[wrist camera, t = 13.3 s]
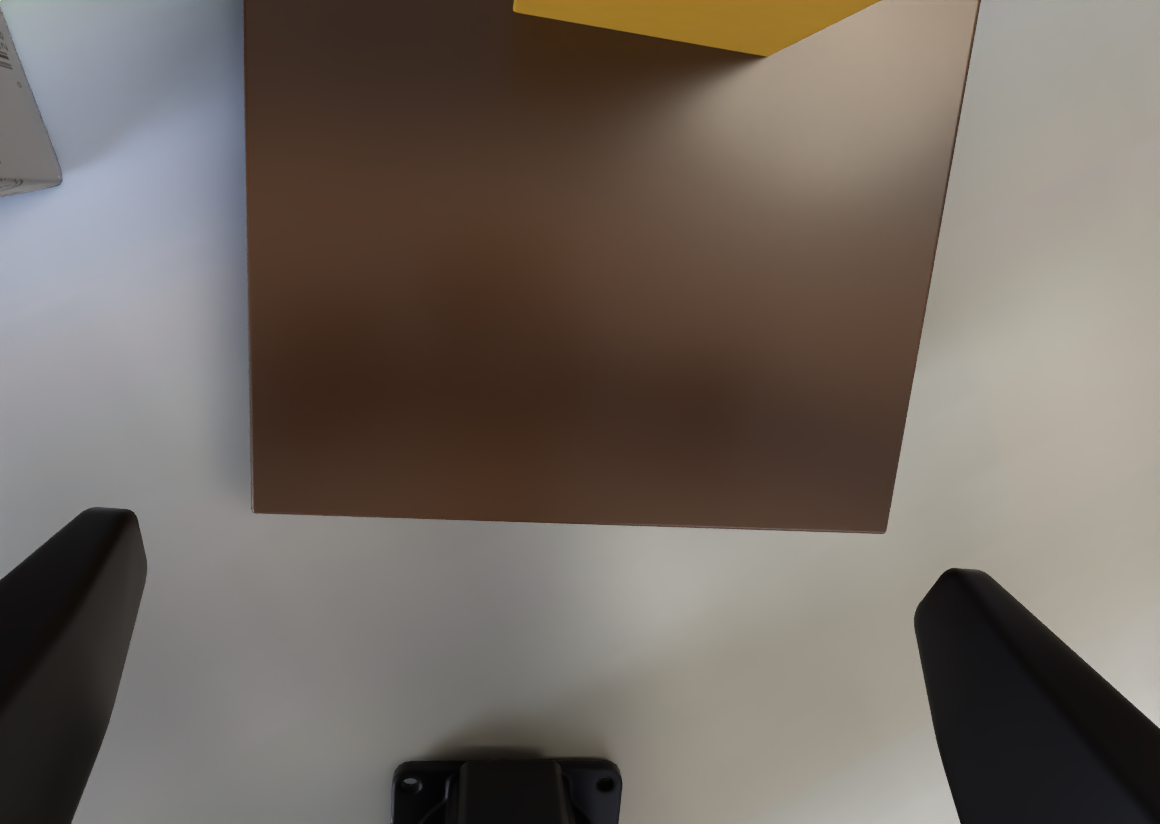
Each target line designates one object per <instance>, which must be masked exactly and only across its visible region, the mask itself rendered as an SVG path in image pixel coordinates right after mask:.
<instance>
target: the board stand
mask: <svg viewBox="0 0 1160 824" xmlns="http://www.w3.org/2000/svg"><path fill="white" fill-rule="evenodd" d="M980 2H981V0H881V1H879V2H877V3H875V4H873V5H871V6H869V7H867V8H865V9H863V10H861V11H859V12H857V13H855V14H853V15H851V16H849V17H847V18H845V19H843V20H841V21H839V22H837V23H835V24H833V25H831V26H829V27H827V28H825V29H823V30H821V31H819V32H817V33H815V34H813V35H811V36H809V37H807V38H805V39H803V40H801V41H799V42H797V43H795V44H793V45H791V46H788V47H786V48H784V49H782V50H780V51H778V52H776V53H774V54H772V55H770V56H768V57H766V56H761V55H755V54H749V53H744V52H738V51H732V50H727V49H721V48H715V47H710V46H704V45H698V44H692V43H687V42H681V41H675V40H670V39H664V38H658V37H653V36H647V35H641V34H636V33H630V32H624V31H619V30H613V29H607V28H602V27H596V26H590V25H585V24H579V23H573V22H568V21H562V20H556V19H551V18H545V17H539V16H534V15H528V14H522V13H516V12H514V11H513V4H514V0H243V47H244V107H245V166H246V225H247V284H248V343H249V403H250V462H251V509H252V512H253V513H262V514H292V515H323V516H353V517H384V518H414V519H445V520H475V521H506V522H536V523H567V524H597V525H628V526H658V527H689V528H719V529H750V530H781V531H811V532H842V533H872V534H884V533H885V532H886V529H887V524H888V518H889V512H890V507H891V501H892V496H893V490H894V484H895V479H896V473H897V468H898V462H899V456H900V451H901V445H902V439H903V434H904V428H905V423H906V417H907V411H908V406H909V400H910V395H911V389H912V383H913V378H914V372H915V367H916V361H917V355H918V350H919V344H920V338H921V333H922V327H923V322H924V316H925V310H926V305H927V299H928V294H929V288H930V282H931V277H932V271H933V266H934V260H935V254H936V249H937V243H938V237H939V232H940V226H941V221H942V215H943V209H944V204H945V198H946V193H947V187H948V181H949V176H950V170H951V165H952V159H953V153H954V148H955V142H956V136H957V131H958V125H959V120H960V114H961V108H962V103H963V97H964V92H965V86H966V80H967V75H968V69H969V64H970V58H971V52H972V47H973V41H974V35H975V30H976V24H977V19H978V13H979V7H980Z"/></svg>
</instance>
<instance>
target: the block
mask: <svg viewBox="0 0 1160 824" xmlns="http://www.w3.org/2000/svg"><path fill="white" fill-rule="evenodd" d="M879 1H881V0H514V4H513V11H514V12H516V13H522V14H528V15H534V16H539V17H545V18H551V19H556V20H562V21H568V22H573V23H579V24H585V25H590V26H596V27H602V28H607V29H613V30H619V31H624V32H630V33H636V34H641V35H647V36H653V37H658V38H664V39H670V40H675V41H681V42H687V43H692V44H698V45H704V46H710V47H715V48H721V49H727V50H732V51H738V52H744V53H749V54H755V55H761V56H766V57H768V56H770V55H772V54H774V53H776V52H778V51H780V50H782V49H784V48H786V47H788V46H791V45H793V44H795V43H797V42H799V41H801V40H803V39H805V38H807V37H809V36H811V35H813V34H815V33H817V32H819V31H821V30H823V29H825V28H827V27H829V26H831V25H833V24H835V23H837V22H839V21H841V20H843V19H845V18H847V17H849V16H851V15H853V14H855V13H857V12H859V11H861V10H863V9H865V8H867V7H869V6H871V5H873V4H875V3H877V2H879Z"/></svg>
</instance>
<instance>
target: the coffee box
mask: <svg viewBox="0 0 1160 824" xmlns="http://www.w3.org/2000/svg"><path fill="white" fill-rule="evenodd" d="M61 182H62V174H61V169H60V166H59V163H58V160H57V157H56V154H55V152H54V149H53V146H52V144H51V141H50V139H49V136H48V133H47V131H46V128H45V126H44V123H43V120H42V118H41V115H40V112H39V110H38V107H37V105H36V102H35V99H34V97H33V94H32V91H31V89H30V86H29V83H28V81H27V78H26V76H25V73H24V70H23V68H22V65H21V63H20V60H19V57H18V55H17V52H16V49H15V47H14V44H13V41H12V39H11V36H10V33H9V30H8V28H7V25H6V22H5V19H4V17H3V14H2V11H1V9H0V197H4V196H9V195H14V194H19V193H24V192H30V191H35V190H40V189H45V188H49V187H53V186H56V185H59V184H60V183H61Z"/></svg>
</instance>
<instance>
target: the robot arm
mask: <svg viewBox="0 0 1160 824" xmlns="http://www.w3.org/2000/svg"><path fill="white" fill-rule="evenodd" d="M146 575H147V559H146V555H145V550H144V546H143V541H142V537H141V532H140V528H139V523H138V519H137V517H136V515H135V514H134V512H132V511H131V510H128V509H117V508H103V507H93V508H89V509H87V510H85V511H83V512H82V513H80V514H79V515H78V516H77V517H75V518H74V519H73V520H72V521H71V522H69V523H68V524H67V525H66V526H65V527H63V528H62V529H61V530H60V531H59V532H57V533H56V534H55V535H54V536H53V537H51V538H50V539H49V540H48V541H47V542H45V543H44V544H43V545H42V546H41V547H39V548H38V549H37V550H36V551H35V552H34V553H32V554H31V555H30V556H29V557H28V558H26V559H25V560H24V561H23V562H22V563H20V564H19V565H18V566H17V567H16V568H14V569H13V570H12V571H11V572H10V573H8V574H7V575H6V576H5V577H4V578H2V579H1V580H0V824H71V822H72V820H73V817H74V814H75V812H76V809H77V807H78V804H79V801H80V799H81V796H82V794H83V791H84V789H85V786H86V783H87V781H88V778H89V776H90V773H91V770H92V768H93V765H94V763H95V760H96V758H97V755H98V752H99V750H100V747H101V744H102V742H103V739H104V736H105V733H106V730H107V727H108V725H109V721H110V717H111V714H112V710H113V707H114V703H115V699H116V695H117V692H118V688H119V684H120V680H121V676H122V672H123V668H124V664H125V660H126V656H127V652H128V649H129V645H130V641H131V637H132V633H133V629H134V625H135V621H136V617H137V613H138V610H139V606H140V602H141V598H142V594H143V590H144V586H145V582H146ZM914 627H915V633H916V638H917V643H918V649H919V654H920V659H921V664H922V669H923V674H924V680H925V685H926V690H927V695H928V700H929V705H930V711H931V716H932V721H933V726H934V731H935V735H936V740H937V744H938V748H939V752H940V756H941V759H942V763H943V766H944V770H945V773H946V777H947V780H948V783H949V787H950V790H951V793H952V796H953V800H954V803H955V806H956V810H957V813H958V816H959V820H960V823H961V824H1160V728H1158V727H1157V726H1156V725H1155V724H1154V723H1153V722H1152V721H1151V720H1150V719H1148V718H1147V717H1146V716H1145V715H1144V714H1143V713H1142V712H1141V711H1140V710H1138V709H1137V708H1136V707H1135V706H1134V705H1133V704H1132V703H1131V702H1130V701H1128V700H1127V699H1126V698H1125V697H1124V696H1123V695H1122V694H1121V693H1120V692H1118V691H1117V690H1116V689H1115V688H1114V687H1113V686H1112V685H1111V684H1110V683H1108V682H1107V681H1106V680H1105V679H1104V678H1103V677H1102V676H1101V675H1100V674H1098V673H1097V672H1096V671H1095V670H1094V669H1093V668H1092V667H1091V666H1090V665H1088V664H1087V663H1086V662H1085V661H1084V660H1083V659H1082V658H1081V657H1080V656H1078V655H1077V654H1076V653H1075V652H1074V651H1073V650H1072V649H1071V648H1070V647H1068V646H1067V645H1066V644H1065V643H1064V642H1063V641H1062V640H1061V639H1060V638H1058V637H1057V636H1056V635H1055V634H1054V633H1053V632H1052V631H1051V630H1050V629H1048V628H1047V627H1046V626H1045V625H1044V624H1043V623H1042V622H1041V621H1040V620H1038V619H1037V618H1036V617H1035V616H1034V615H1033V614H1032V613H1031V612H1030V611H1028V610H1027V609H1026V608H1025V607H1024V606H1023V605H1022V604H1021V603H1020V602H1018V601H1017V600H1016V599H1015V598H1014V597H1013V596H1012V595H1011V594H1010V593H1008V592H1007V591H1006V590H1005V589H1004V588H1003V587H1002V586H1001V585H1000V584H998V583H997V582H996V581H995V580H994V579H993V578H992V577H991V576H989V575H988V574H987V573H985V572H983V571H980V570H974V569H960V568H951V569H949V570H946V571H945V572H944V573H943V574H942V575H941V576H940V578H939V579H938V580H937V581H936V583H935V584H934V585H933V587H932V588H931V589H930V591H929V592H928V593H927V594H926V596H925V597H924V598H923V600H922V601H921V602H920V604H919V605H918V607H917V609H916V612H915V617H914ZM603 777H609V778H611V779H610V780H609V781H608V782H605V783H600V782H598V780H600V779H601V778H603ZM408 778H413V779H416V780H417V781H418V782H417V783H415V784H407V783H405V782H404V780H405V779H408ZM621 793H622V778H621V774H620V770H619V768H618V767H617V765H616V764H614V763H613V762H610V761H553V760H470V761H410V762H405V763H403V764H401V765H399V766H398V767H397V769H396V770H395V772H394V776H393V782H392V796H391V824H618V822H619V812H620V803H621Z"/></svg>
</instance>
